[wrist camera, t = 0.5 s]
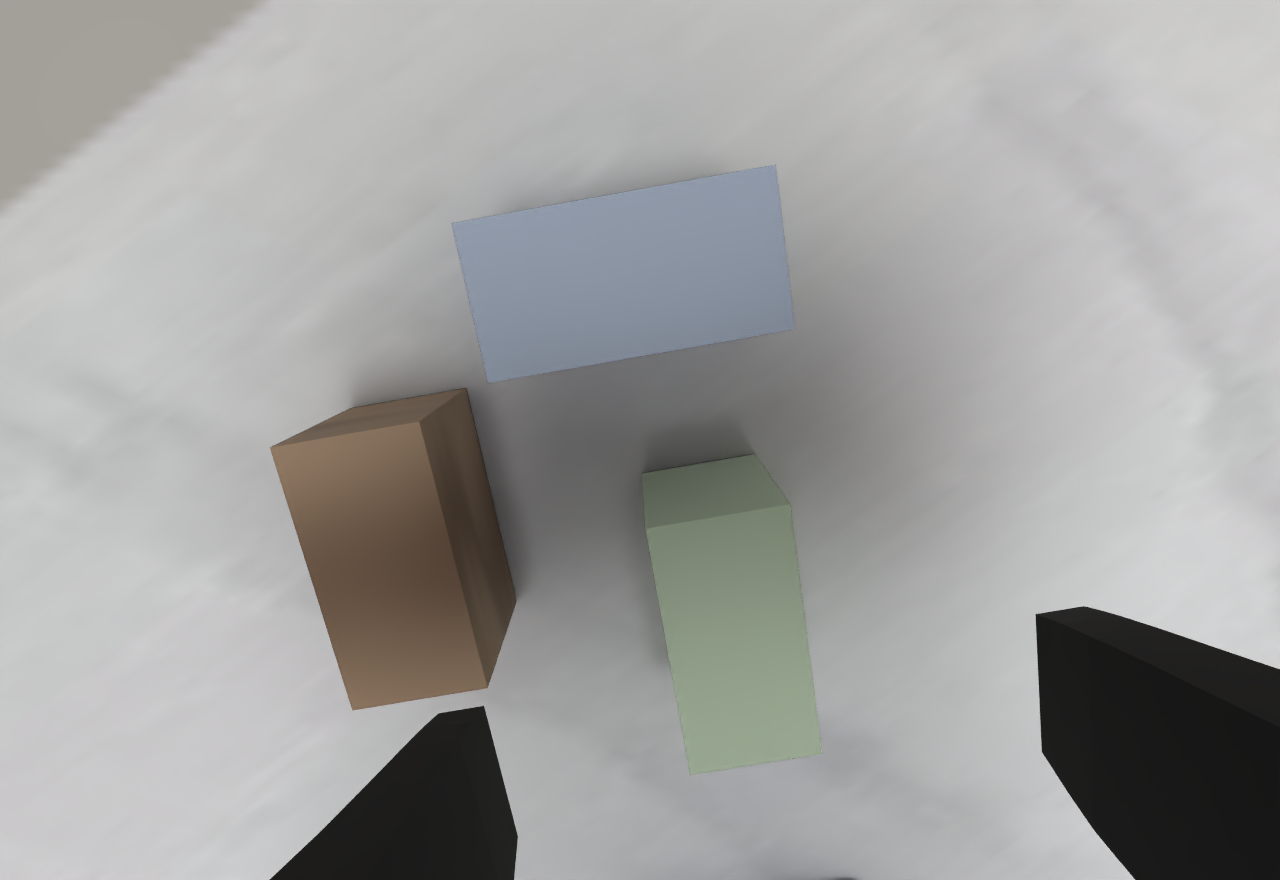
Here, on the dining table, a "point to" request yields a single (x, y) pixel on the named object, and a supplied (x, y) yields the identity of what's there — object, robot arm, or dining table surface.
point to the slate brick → (627, 274)
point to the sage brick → (731, 613)
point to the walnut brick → (401, 546)
